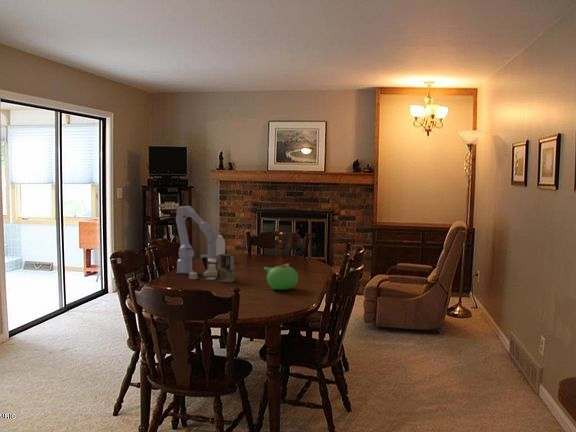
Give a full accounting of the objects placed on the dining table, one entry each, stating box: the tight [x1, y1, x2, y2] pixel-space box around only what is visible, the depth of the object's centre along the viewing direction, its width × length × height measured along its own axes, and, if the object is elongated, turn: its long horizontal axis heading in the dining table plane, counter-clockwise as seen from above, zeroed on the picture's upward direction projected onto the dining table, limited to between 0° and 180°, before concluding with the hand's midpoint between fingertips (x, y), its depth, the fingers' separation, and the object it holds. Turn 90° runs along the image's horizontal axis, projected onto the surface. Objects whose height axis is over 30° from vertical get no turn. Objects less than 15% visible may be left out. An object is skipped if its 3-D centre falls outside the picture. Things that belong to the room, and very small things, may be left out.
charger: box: [207, 263, 217, 273], centre depth 328 cm, size 4×4×6 cm
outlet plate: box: [202, 269, 217, 277], centre depth 328 cm, size 12×9×2 cm
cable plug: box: [188, 272, 199, 280], centre depth 315 cm, size 5×4×4 cm
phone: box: [204, 276, 217, 282], centre depth 314 cm, size 6×8×1 cm
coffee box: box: [216, 253, 235, 283], centre depth 309 cm, size 9×6×16 cm
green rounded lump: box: [263, 262, 299, 291], centre depth 289 cm, size 18×17×15 cm
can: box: [207, 234, 226, 264], centre depth 382 cm, size 12×12×20 cm
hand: (211, 269), depth 328 cm, fingers open, 7 cm apart
